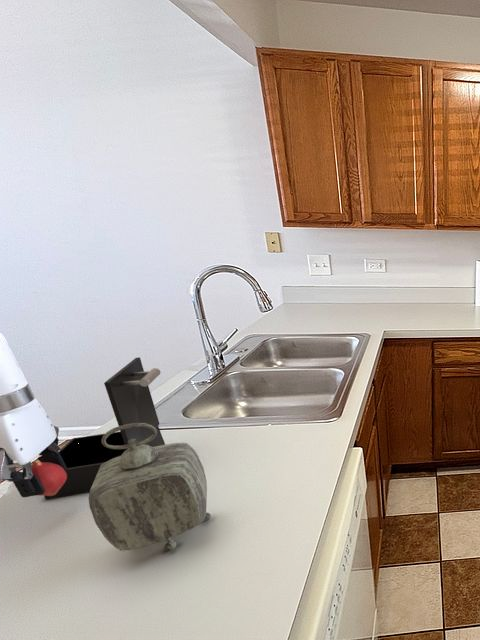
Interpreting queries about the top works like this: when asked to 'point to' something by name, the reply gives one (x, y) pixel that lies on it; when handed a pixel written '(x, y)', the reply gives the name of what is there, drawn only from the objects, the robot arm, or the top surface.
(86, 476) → the black shallow rectangular box
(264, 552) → the top surface
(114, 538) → the tabletop clock
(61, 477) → the red round piece
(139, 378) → the lid
